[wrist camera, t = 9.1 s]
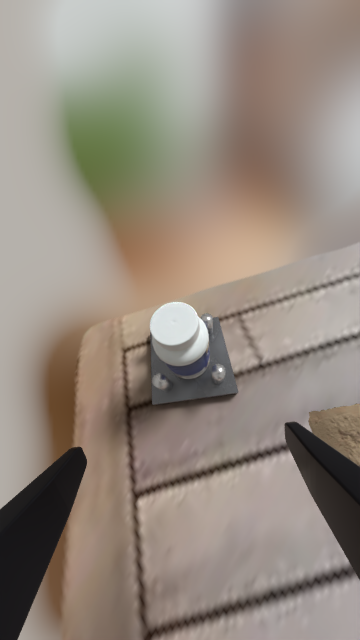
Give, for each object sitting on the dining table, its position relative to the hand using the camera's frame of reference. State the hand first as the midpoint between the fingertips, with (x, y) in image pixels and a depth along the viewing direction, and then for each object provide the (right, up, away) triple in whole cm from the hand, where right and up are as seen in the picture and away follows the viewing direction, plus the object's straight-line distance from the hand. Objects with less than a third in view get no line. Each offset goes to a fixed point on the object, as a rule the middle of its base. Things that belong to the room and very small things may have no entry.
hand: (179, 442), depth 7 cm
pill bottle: (+1, 0, +14) cm, 15 cm away
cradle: (+1, 0, +15) cm, 16 cm away
